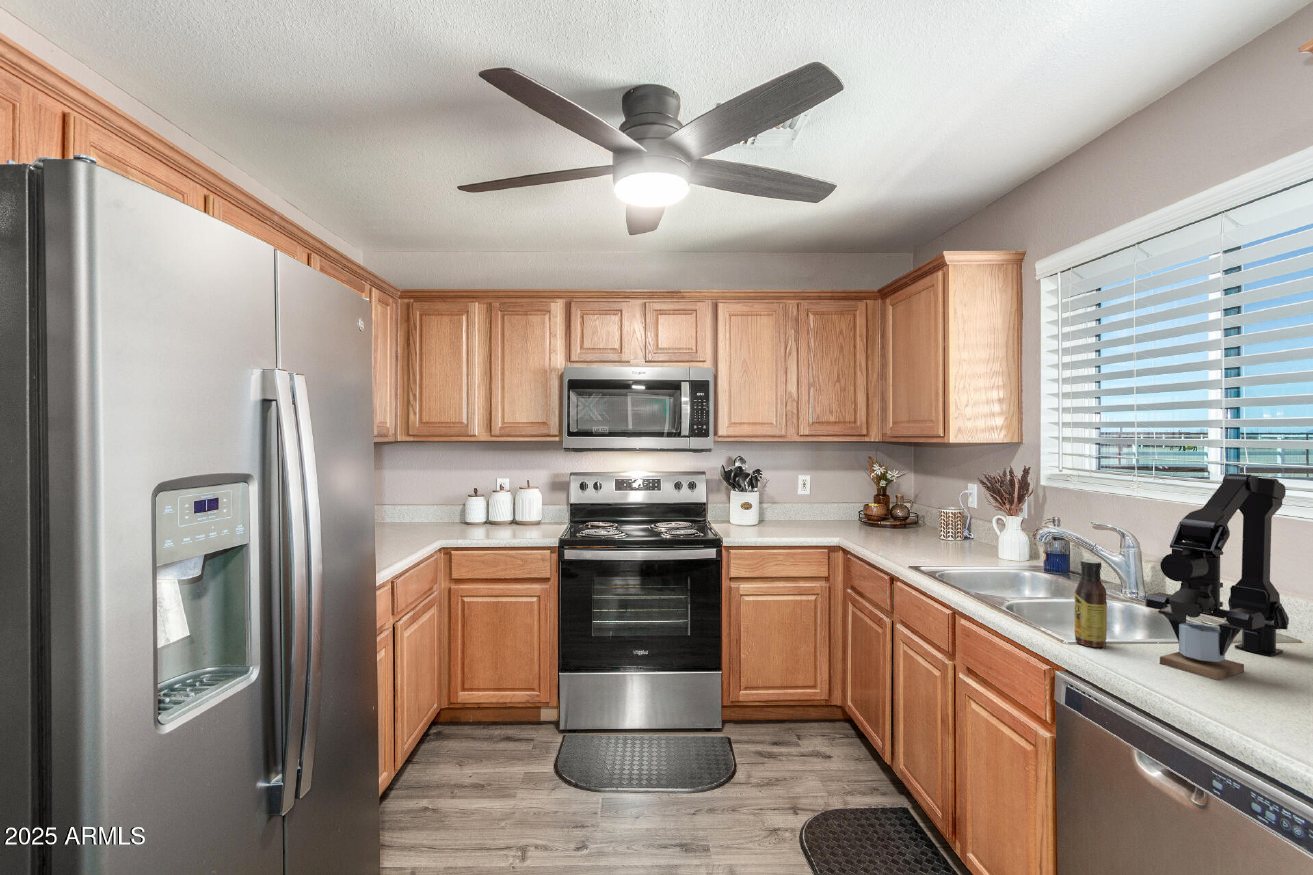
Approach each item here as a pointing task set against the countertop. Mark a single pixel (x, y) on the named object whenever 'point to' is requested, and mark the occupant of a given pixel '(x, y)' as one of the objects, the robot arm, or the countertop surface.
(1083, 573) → the sauce bottle
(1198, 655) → the blue roll
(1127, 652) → the countertop surface
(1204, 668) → the roll holder
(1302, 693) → the countertop surface
